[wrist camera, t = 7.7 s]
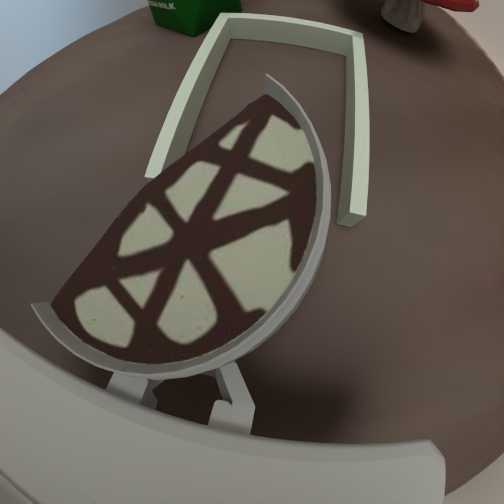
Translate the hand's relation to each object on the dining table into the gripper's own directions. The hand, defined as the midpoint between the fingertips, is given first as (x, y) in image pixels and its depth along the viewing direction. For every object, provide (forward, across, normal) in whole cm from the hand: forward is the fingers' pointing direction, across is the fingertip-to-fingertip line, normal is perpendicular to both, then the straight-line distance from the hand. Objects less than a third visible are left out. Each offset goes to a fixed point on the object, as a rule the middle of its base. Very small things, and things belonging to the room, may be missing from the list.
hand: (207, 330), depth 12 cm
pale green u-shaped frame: (+15, 0, -8) cm, 17 cm away
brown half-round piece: (+6, 0, +2) cm, 6 cm away
